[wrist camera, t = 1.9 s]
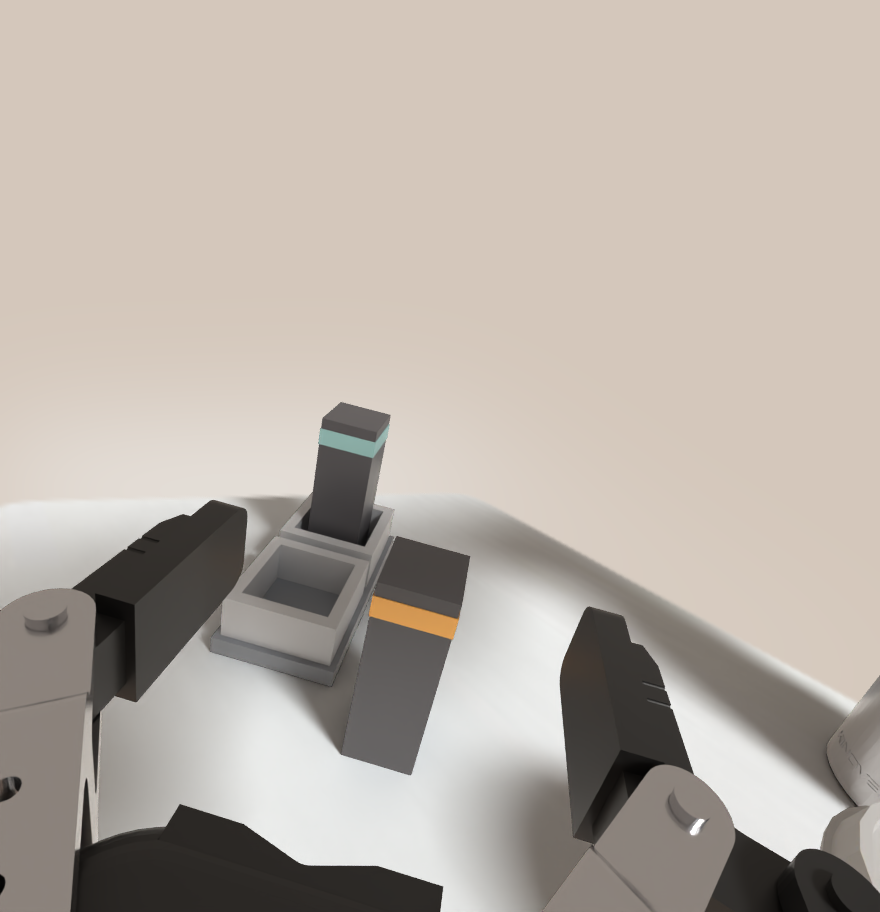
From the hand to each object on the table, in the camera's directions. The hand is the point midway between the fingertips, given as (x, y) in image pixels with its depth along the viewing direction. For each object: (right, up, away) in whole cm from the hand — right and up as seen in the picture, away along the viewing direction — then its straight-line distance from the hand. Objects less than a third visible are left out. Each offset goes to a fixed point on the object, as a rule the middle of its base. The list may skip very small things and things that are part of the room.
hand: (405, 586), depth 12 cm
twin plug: (-8, -5, +31) cm, 32 cm away
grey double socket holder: (-9, -7, +28) cm, 30 cm away
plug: (-2, -13, +18) cm, 23 cm away
